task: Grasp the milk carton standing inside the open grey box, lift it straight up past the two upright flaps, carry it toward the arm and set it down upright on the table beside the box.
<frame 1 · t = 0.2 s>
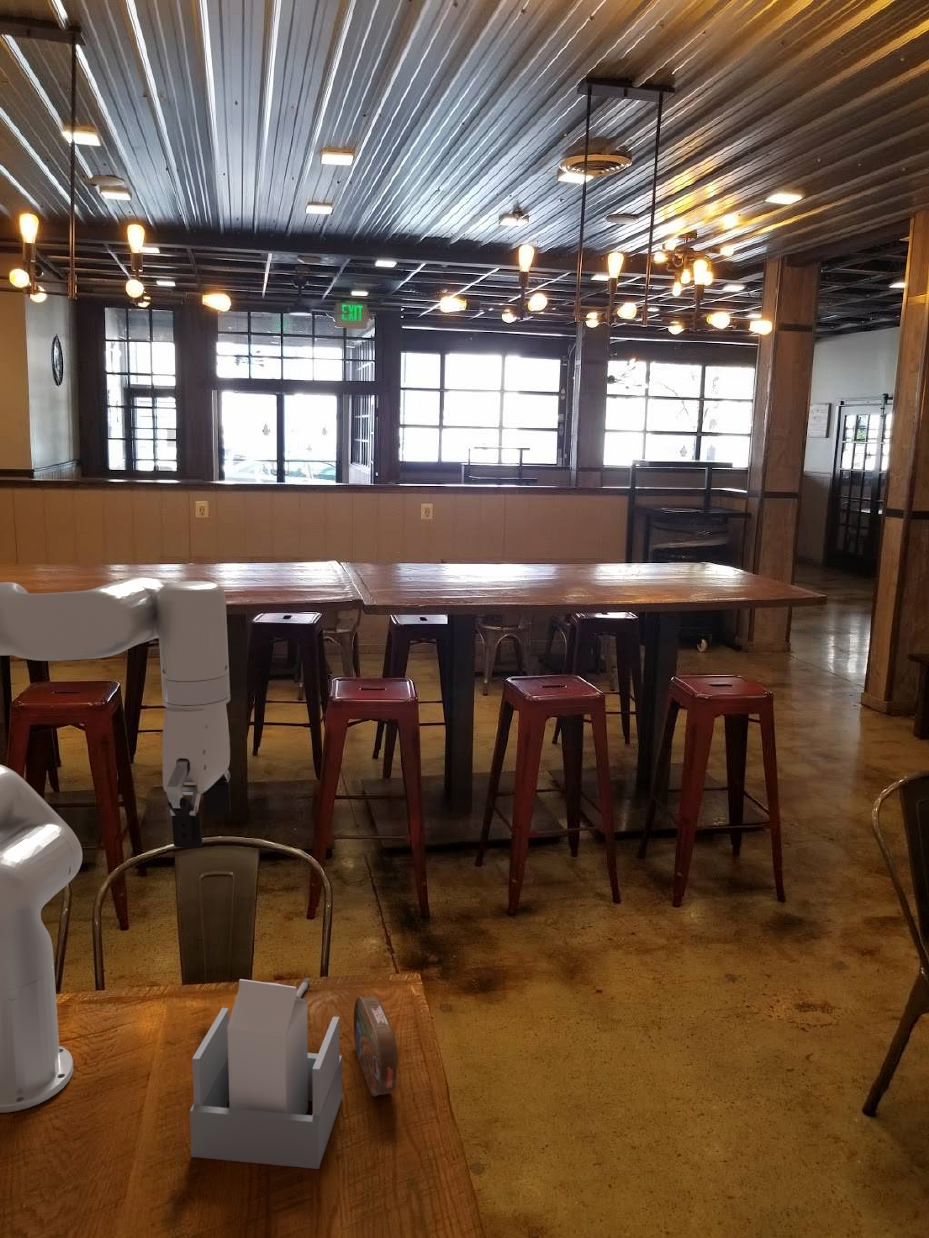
hand: (203, 829, 114), 36 cm above the table, tool pointing down, fingers open, 9 cm apart
pen: (292, 1011, 140), on the table
flap box: (270, 1126, 116), on the table
tin: (375, 1072, 127), on the table
milk carton: (270, 1127, 116), resting in flap box
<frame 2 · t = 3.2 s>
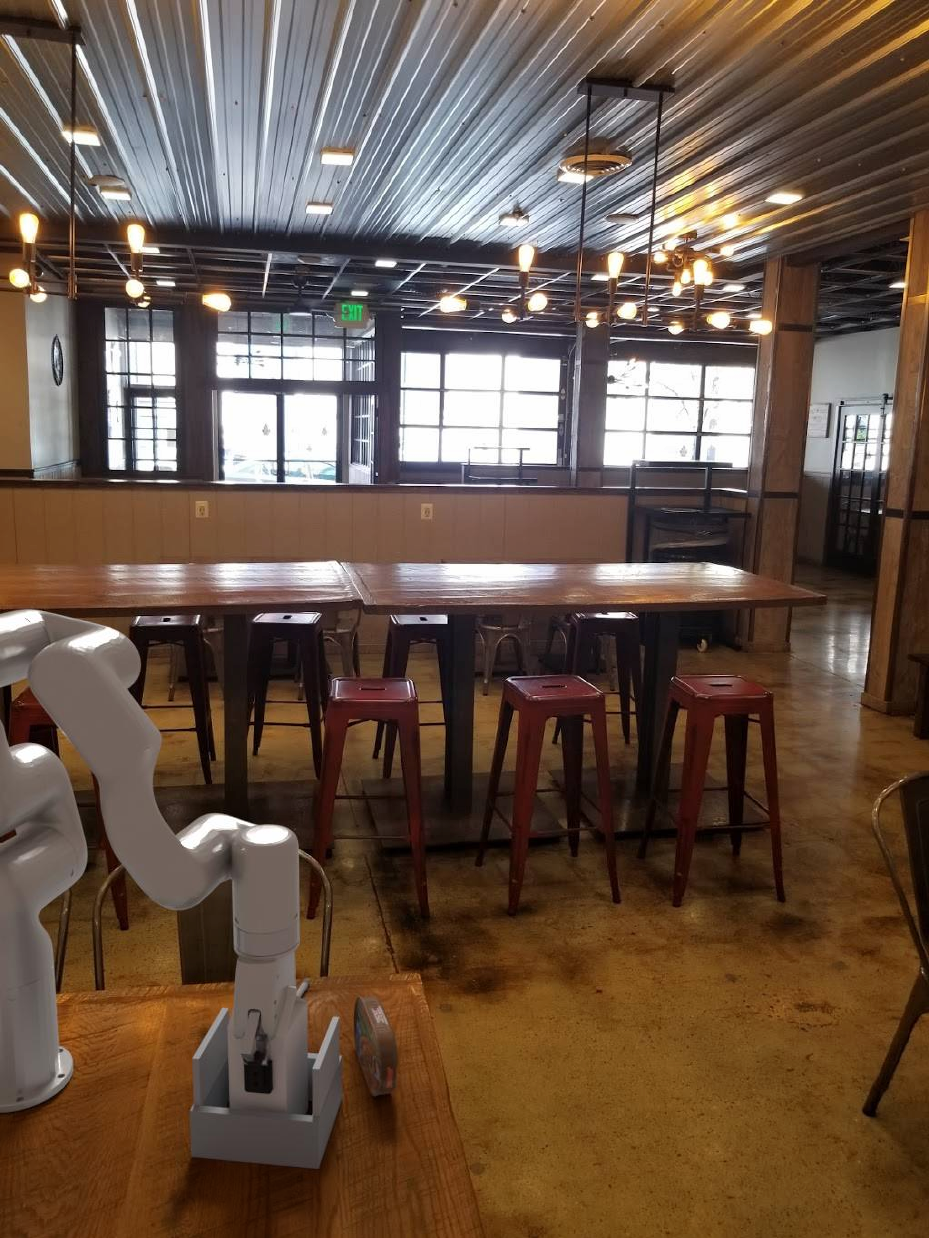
hand: (269, 1067, 115), 8 cm above the table, tool pointing down, fingers closed on milk carton, 7 cm apart
milk carton: (270, 1127, 116), resting in flap box, touching gripper
everything else where it was.
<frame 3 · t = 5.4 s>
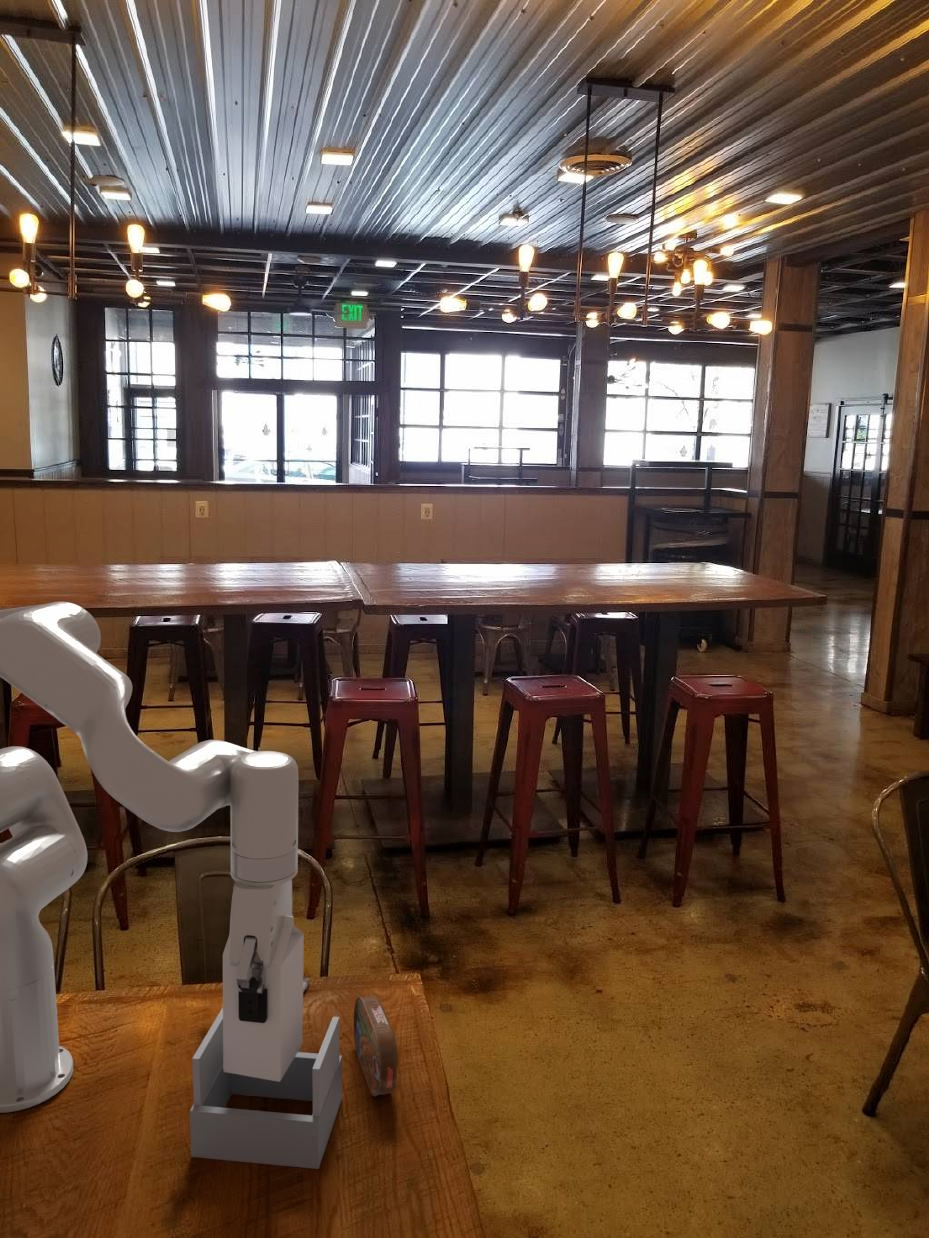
hand: (264, 998, 113), 17 cm above the table, tool pointing down, fingers closed on milk carton, 7 cm apart
milk carton: (263, 1060, 115), point 9 cm above the table, touching gripper
everything else where it was.
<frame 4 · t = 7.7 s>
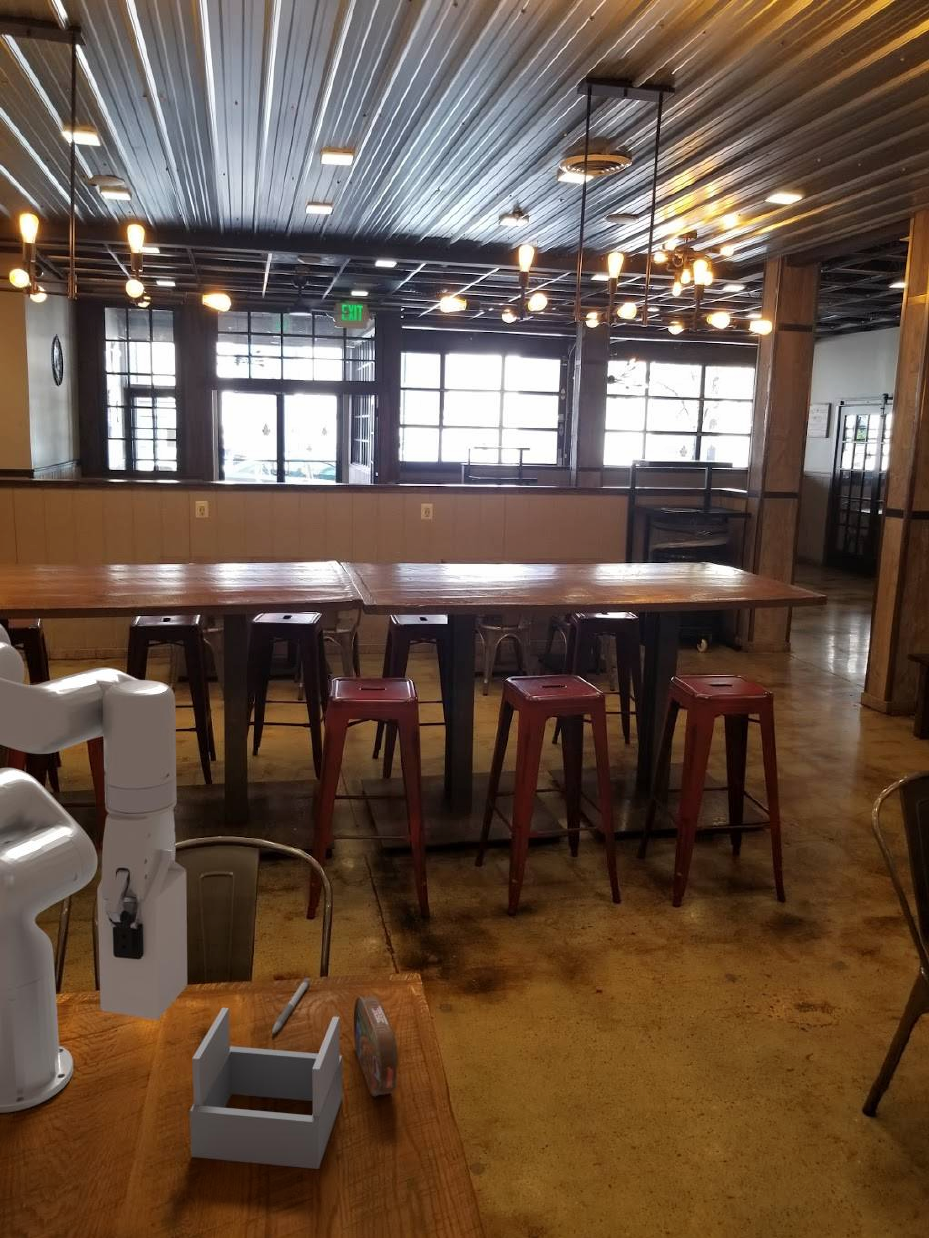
hand: (143, 936, 110), 25 cm above the table, tool pointing down, fingers closed on milk carton, 7 cm apart
milk carton: (145, 1000, 112), point 17 cm above the table, touching gripper
everything else where it was.
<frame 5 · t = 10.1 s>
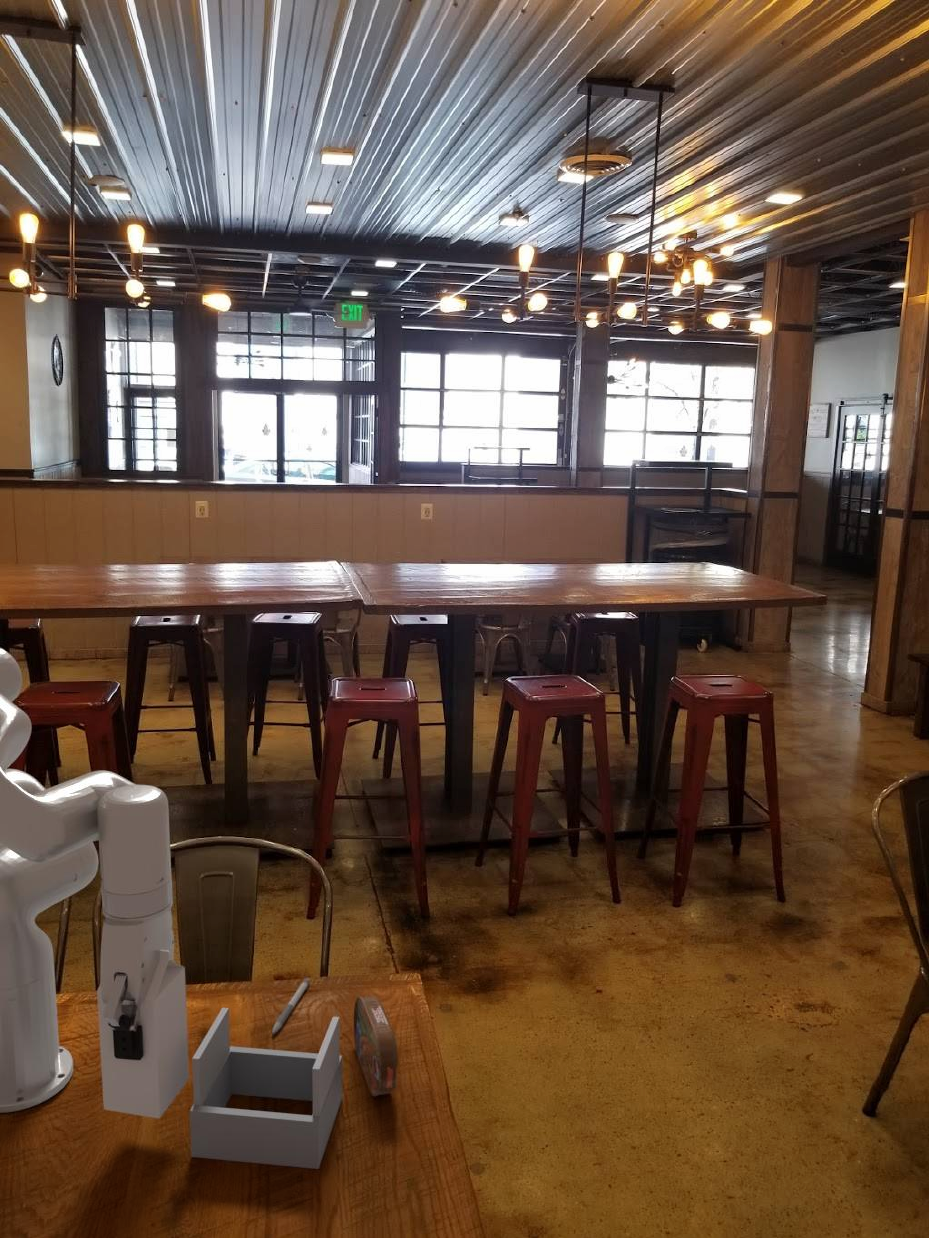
hand: (144, 1034, 112), 13 cm above the table, tool pointing down, fingers closed on milk carton, 7 cm apart
milk carton: (147, 1096, 113), point 5 cm above the table, touching gripper
everything else where it was.
when the fingers open (9 cm above the table, at t = 12.1 s): milk carton stays where it is, on the table.
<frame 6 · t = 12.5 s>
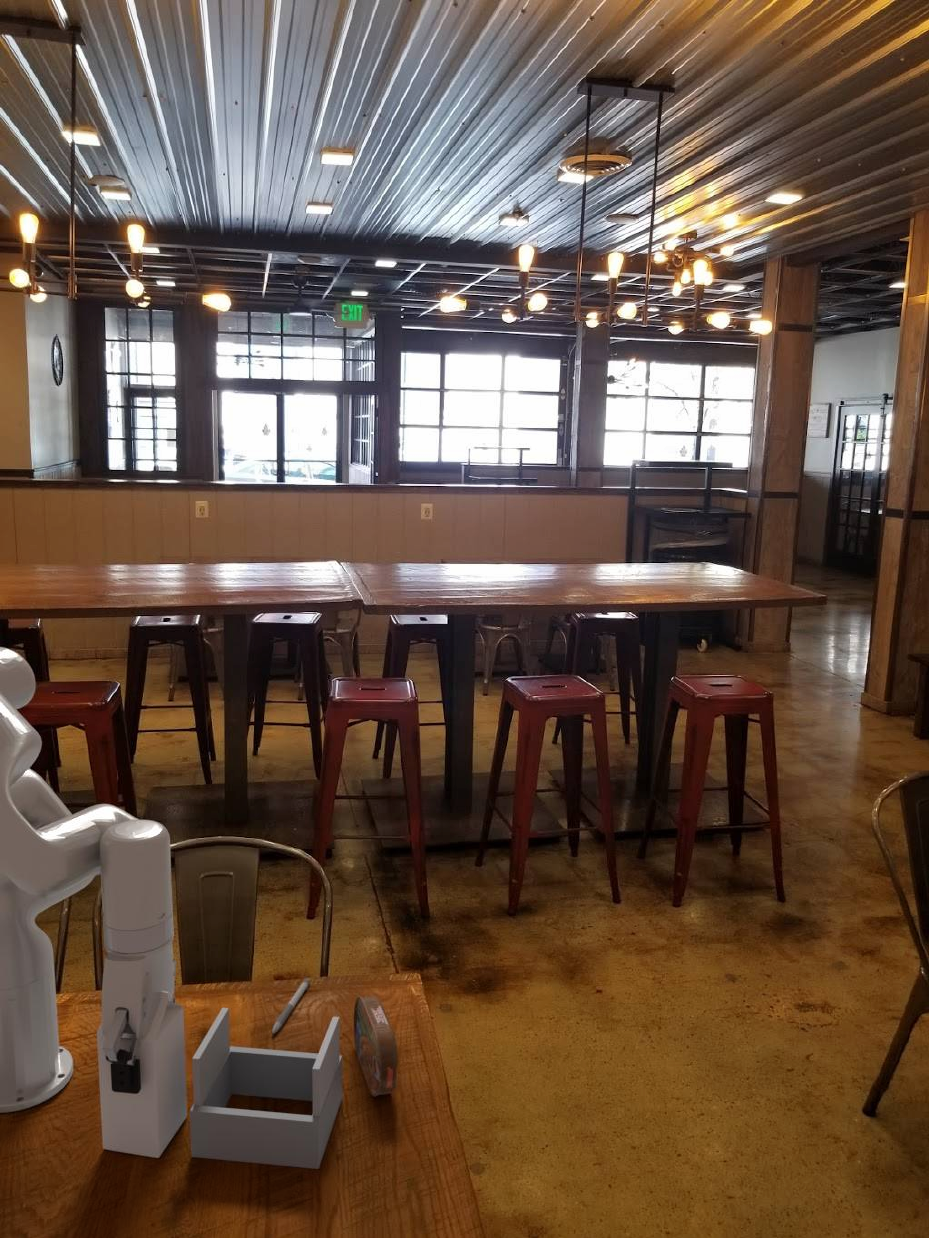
hand: (145, 1063, 113), 9 cm above the table, tool pointing down, fingers open, 9 cm apart
milk carton: (146, 1135, 114), on the table
everything else where it was.
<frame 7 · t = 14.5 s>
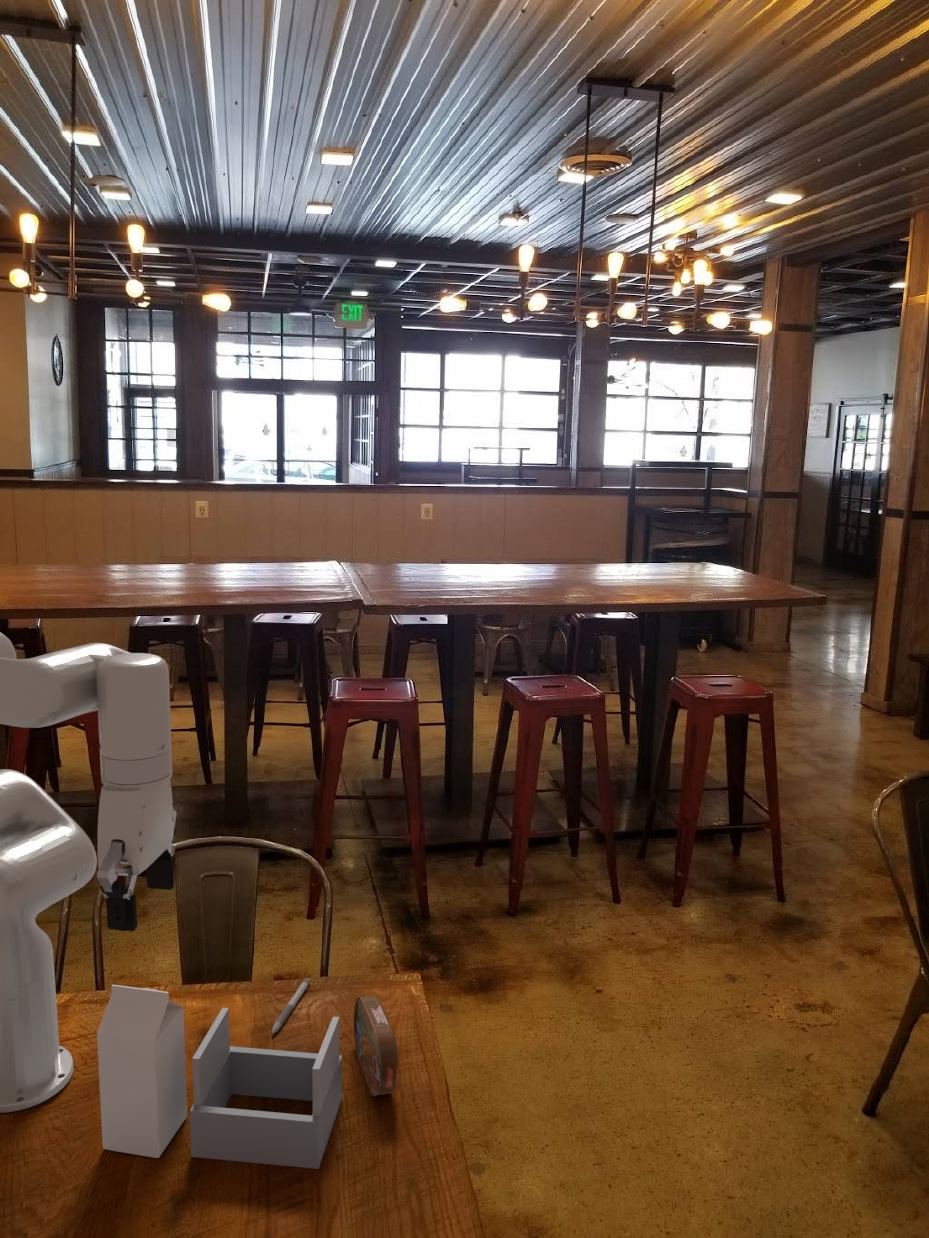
hand: (142, 907, 110), 29 cm above the table, tool pointing down, fingers open, 9 cm apart
nothing on the table moved.
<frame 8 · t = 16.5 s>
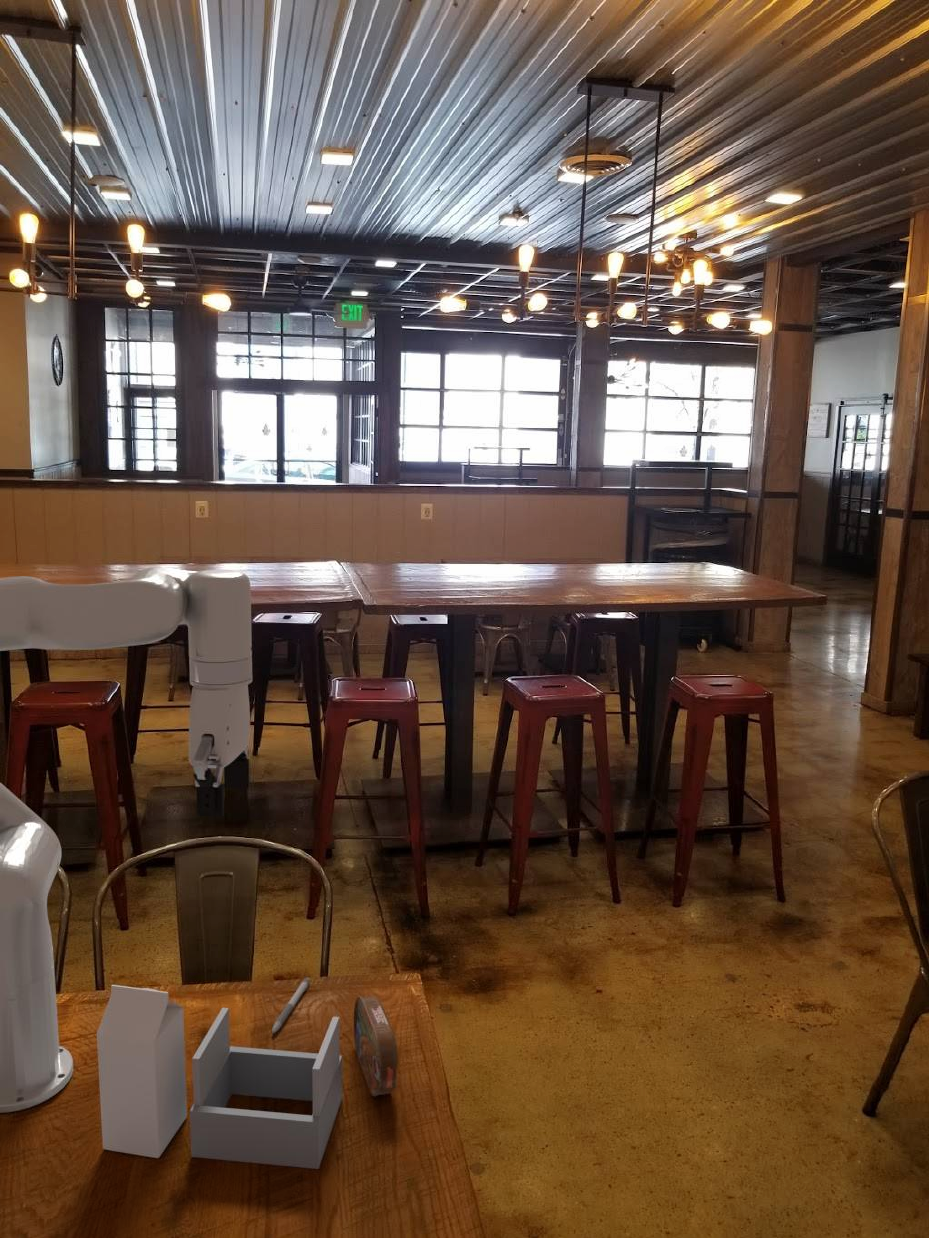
hand: (224, 801, 122), 36 cm above the table, tool pointing down, fingers open, 9 cm apart
nothing on the table moved.
at the end: milk carton inside the target area (0.2 cm from its centre), on the table; milk carton tilted 0°; the gripper is holding nothing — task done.
